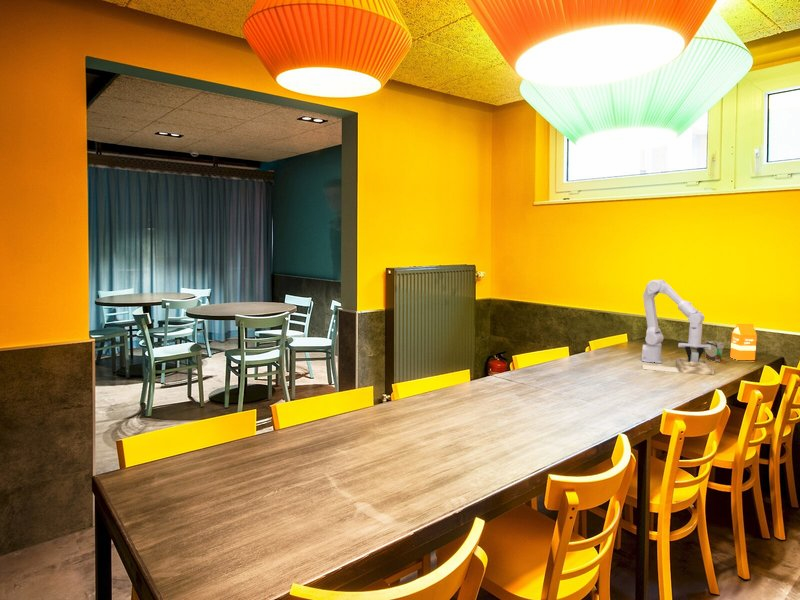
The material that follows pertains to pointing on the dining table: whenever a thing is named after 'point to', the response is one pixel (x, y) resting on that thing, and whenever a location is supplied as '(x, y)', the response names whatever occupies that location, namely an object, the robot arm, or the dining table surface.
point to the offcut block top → (695, 364)
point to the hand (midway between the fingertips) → (693, 361)
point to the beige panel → (660, 368)
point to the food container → (714, 351)
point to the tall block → (694, 356)
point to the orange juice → (743, 342)
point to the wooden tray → (684, 364)
